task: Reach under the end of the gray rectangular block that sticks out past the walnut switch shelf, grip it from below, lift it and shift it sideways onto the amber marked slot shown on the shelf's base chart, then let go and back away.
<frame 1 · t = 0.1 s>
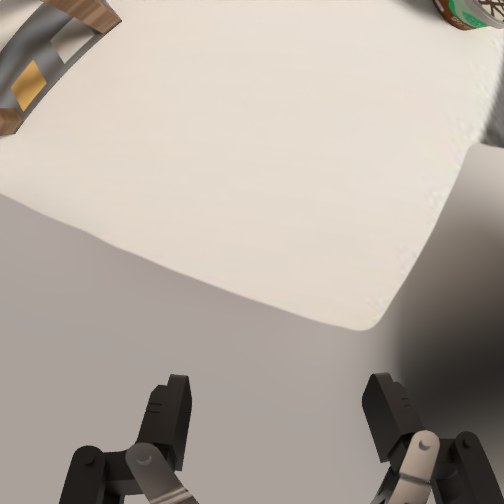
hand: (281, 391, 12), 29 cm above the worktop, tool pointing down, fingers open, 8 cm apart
switch shelf: (41, 47, 28), on the worktop
food container: (457, 20, 27), on the worktop
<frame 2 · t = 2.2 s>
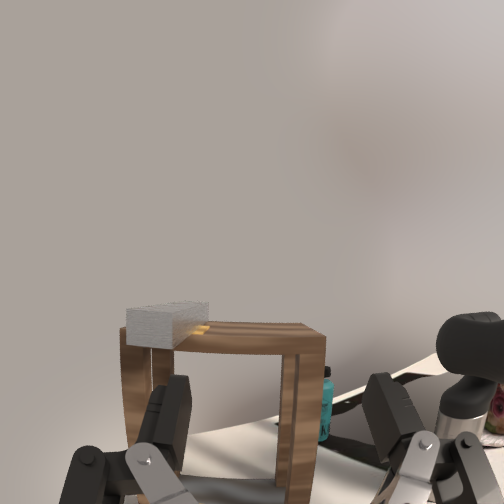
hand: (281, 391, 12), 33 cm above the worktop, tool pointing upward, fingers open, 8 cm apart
gray rectangular block: (179, 329, 34), point 32 cm above the worktop, touching switch shelf
beverage bottle: (315, 441, 61), on the worktop
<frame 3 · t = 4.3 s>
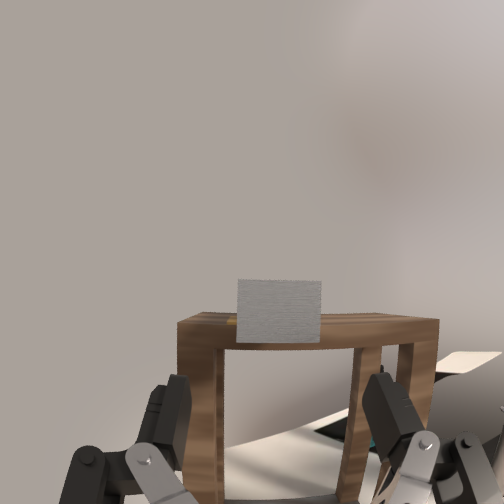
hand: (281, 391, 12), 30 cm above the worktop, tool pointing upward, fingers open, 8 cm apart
gray rectangular block: (262, 321, 26), point 32 cm above the worktop, touching switch shelf
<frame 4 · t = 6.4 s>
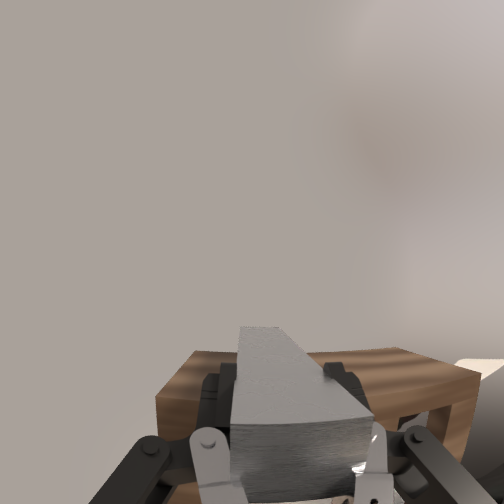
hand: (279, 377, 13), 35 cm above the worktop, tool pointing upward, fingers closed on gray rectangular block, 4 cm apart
gray rectangular block: (267, 390, 18), point 32 cm above the worktop, touching gripper, switch shelf
when the fingers open (36 cm above the worktop, at t = 11.0 s): gray rectangular block drops 1 cm, resting on switch shelf.
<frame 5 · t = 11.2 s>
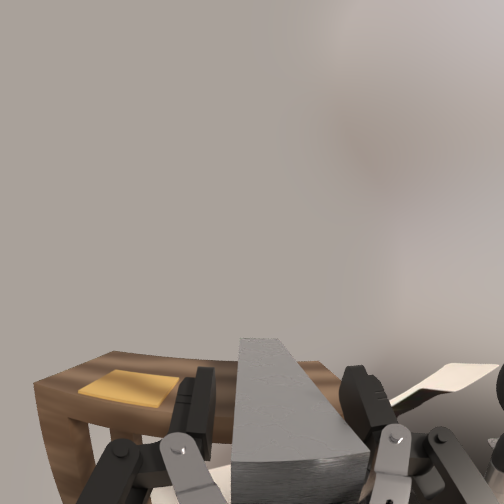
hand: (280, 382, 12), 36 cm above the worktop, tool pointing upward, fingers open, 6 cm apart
gray rectangular block: (267, 406, 18), point 32 cm above the worktop, touching switch shelf
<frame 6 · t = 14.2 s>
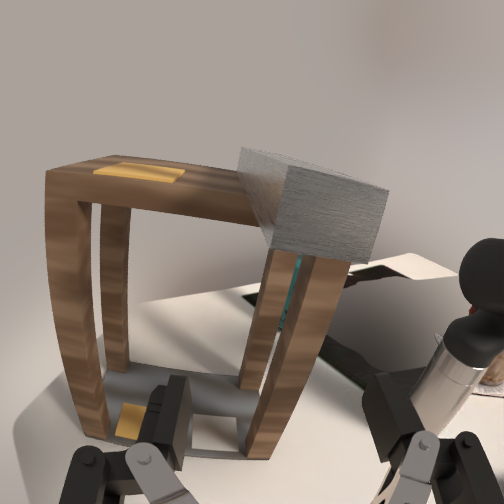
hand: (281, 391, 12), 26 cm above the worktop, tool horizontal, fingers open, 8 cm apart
switch shelf: (179, 409, 38), on the worktop
cookie jar: (474, 369, 56), on the worktop
gray rectangular block: (270, 195, 22), point 32 cm above the worktop, touching switch shelf
beverage bottle: (285, 328, 64), on the worktop
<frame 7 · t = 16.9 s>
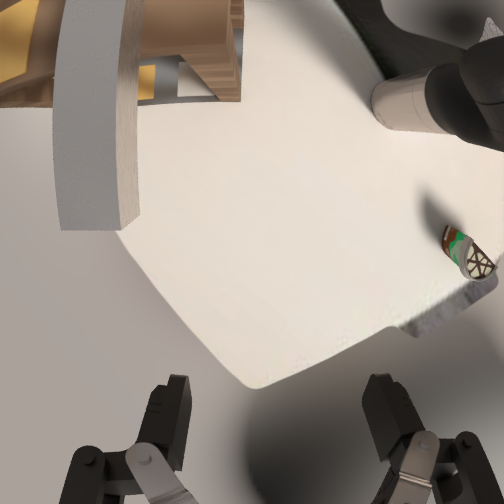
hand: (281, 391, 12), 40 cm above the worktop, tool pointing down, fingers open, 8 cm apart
switch shelf: (168, 58, 40), on the worktop
food container: (451, 247, 53), on the worktop
gray rectangular block: (113, 28, 13), point 32 cm above the worktop, touching switch shelf
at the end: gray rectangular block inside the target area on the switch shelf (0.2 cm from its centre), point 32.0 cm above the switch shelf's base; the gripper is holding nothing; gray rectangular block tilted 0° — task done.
